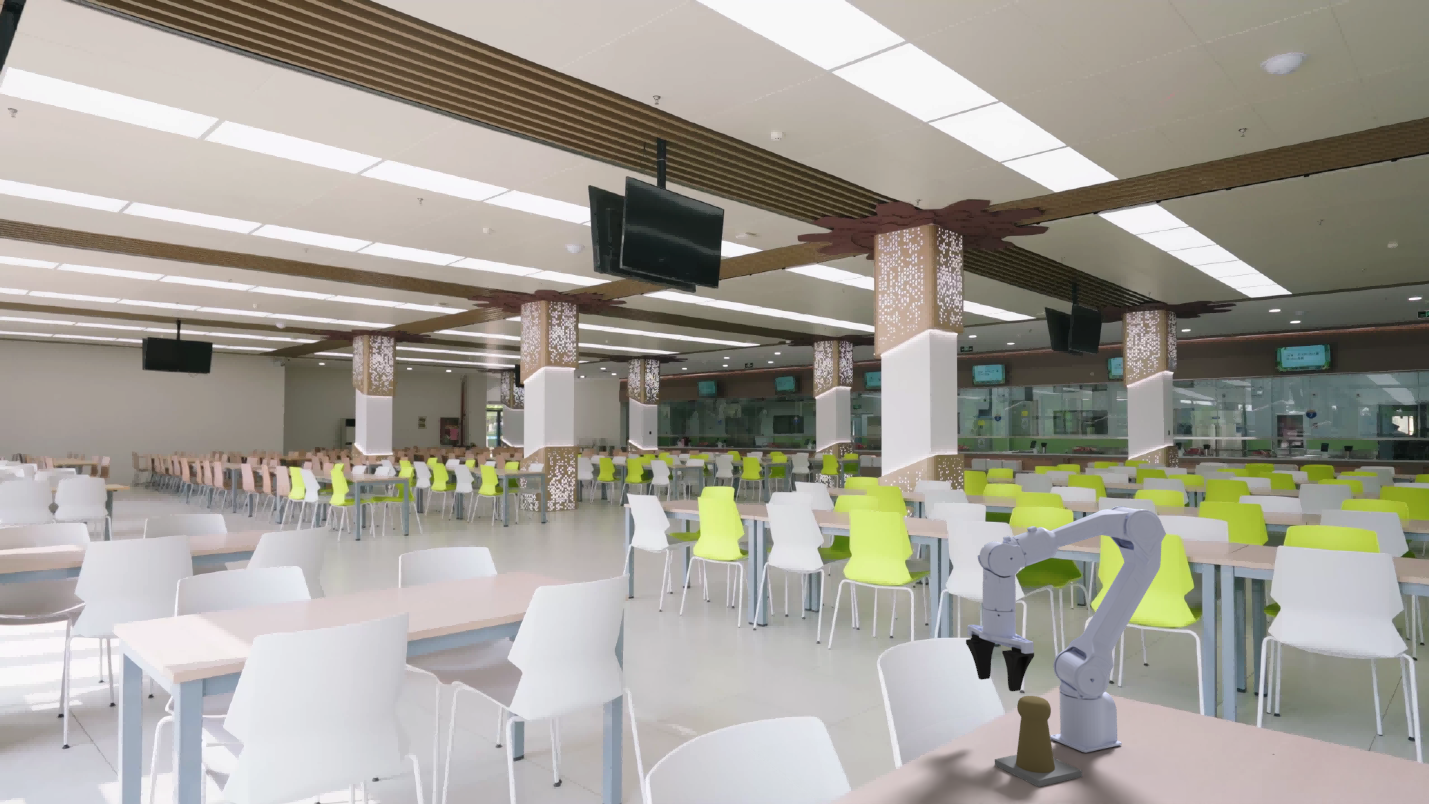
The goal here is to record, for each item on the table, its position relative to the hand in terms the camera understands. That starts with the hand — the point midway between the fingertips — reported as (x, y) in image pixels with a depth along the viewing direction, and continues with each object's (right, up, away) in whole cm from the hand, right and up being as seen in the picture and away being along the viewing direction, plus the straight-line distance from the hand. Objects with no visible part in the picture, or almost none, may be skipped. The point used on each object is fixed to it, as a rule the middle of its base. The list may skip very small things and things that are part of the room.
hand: (999, 684), depth 147 cm
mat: (+2, -10, -13) cm, 16 cm away
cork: (+1, -9, -13) cm, 16 cm away
